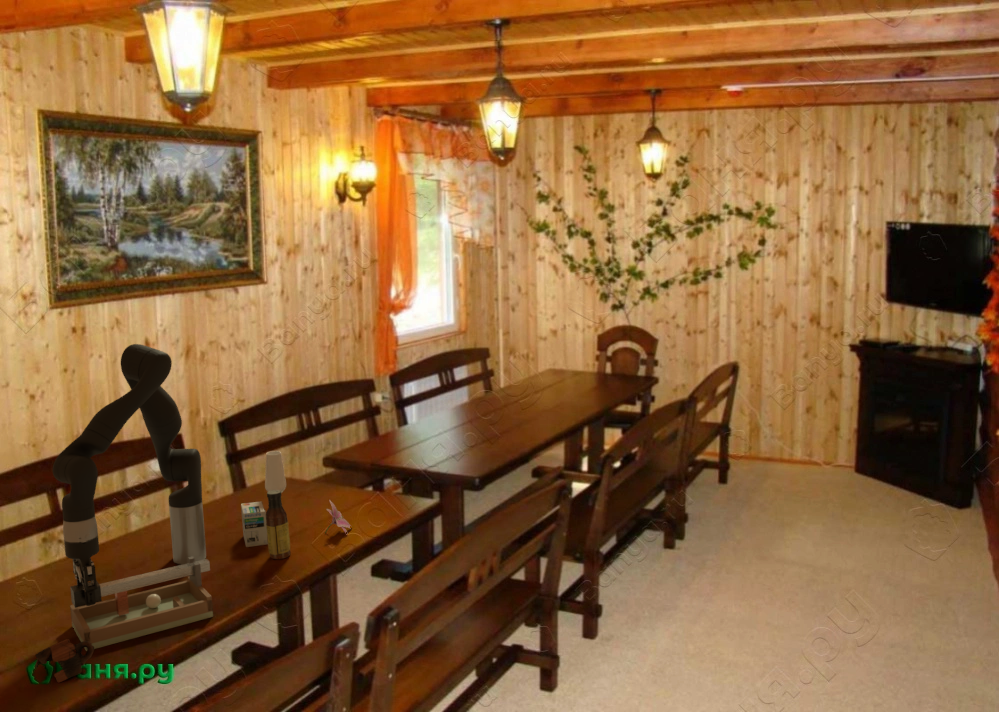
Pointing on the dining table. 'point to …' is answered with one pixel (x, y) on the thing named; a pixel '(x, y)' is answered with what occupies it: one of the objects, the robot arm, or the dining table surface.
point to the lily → (337, 518)
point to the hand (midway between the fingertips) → (86, 598)
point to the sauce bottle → (277, 527)
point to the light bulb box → (254, 524)
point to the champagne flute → (274, 472)
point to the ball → (153, 601)
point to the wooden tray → (144, 612)
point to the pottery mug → (66, 657)
